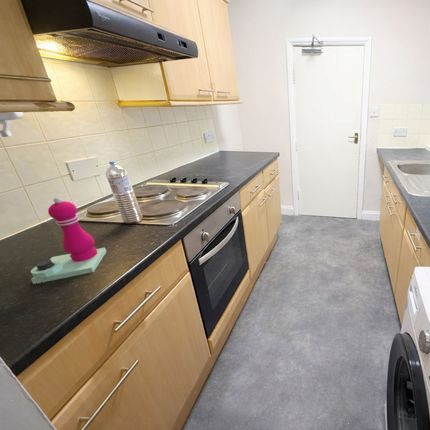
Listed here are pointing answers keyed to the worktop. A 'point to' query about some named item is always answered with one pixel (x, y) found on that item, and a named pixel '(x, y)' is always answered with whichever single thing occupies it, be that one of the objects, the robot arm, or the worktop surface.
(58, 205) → the pepper mill
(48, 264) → the tare button
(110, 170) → the water bottle
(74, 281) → the worktop surface
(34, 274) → the scale
